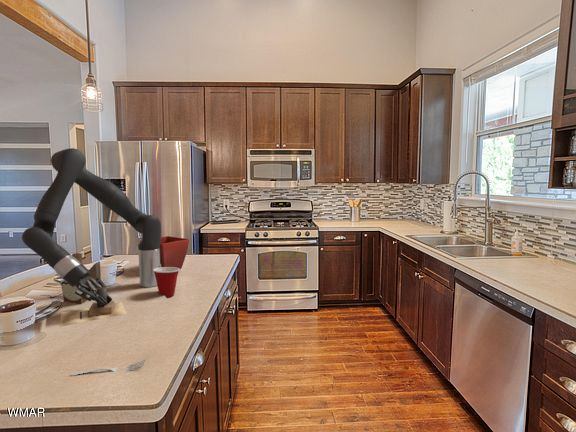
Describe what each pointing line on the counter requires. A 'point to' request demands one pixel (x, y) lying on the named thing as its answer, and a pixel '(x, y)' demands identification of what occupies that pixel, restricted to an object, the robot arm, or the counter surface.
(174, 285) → the plastic cup
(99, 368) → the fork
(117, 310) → the oak board
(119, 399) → the counter surface
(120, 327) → the counter surface
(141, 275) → the robot arm
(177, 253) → the plant pot
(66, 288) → the food container
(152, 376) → the counter surface
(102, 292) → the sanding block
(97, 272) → the wooden block
